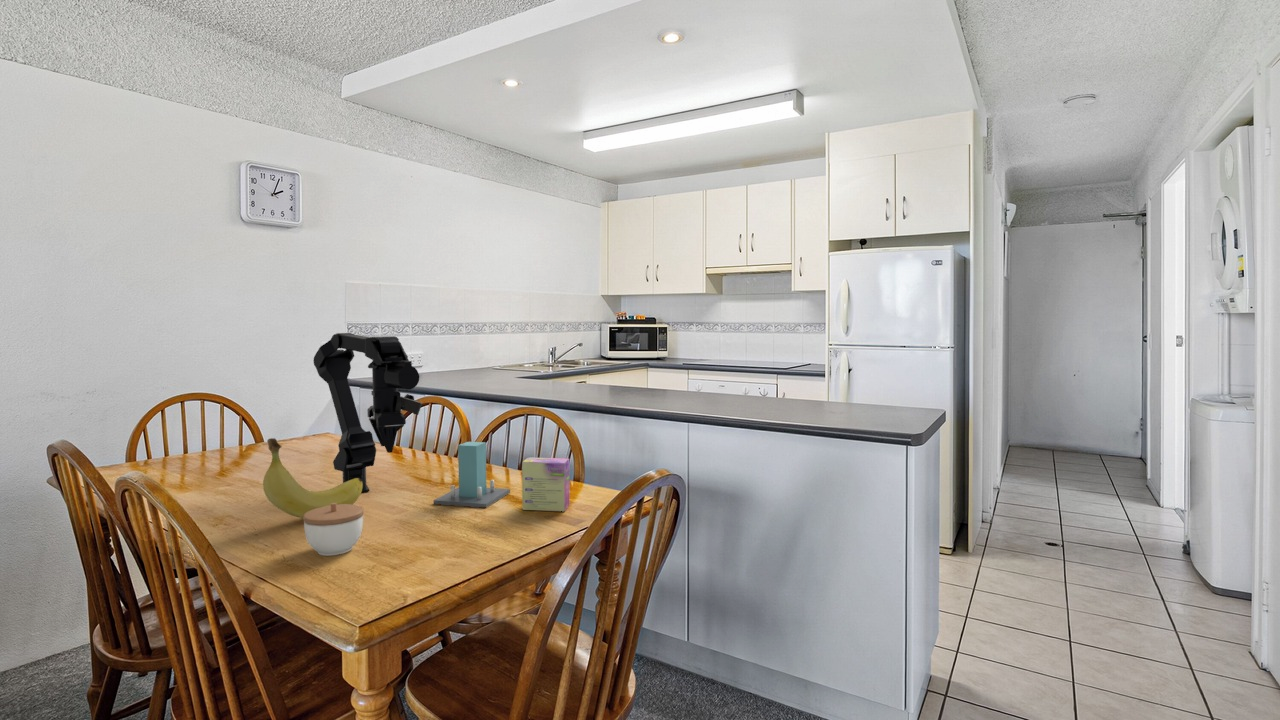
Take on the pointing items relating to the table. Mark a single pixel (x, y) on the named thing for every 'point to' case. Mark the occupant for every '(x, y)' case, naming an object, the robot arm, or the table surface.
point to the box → (545, 484)
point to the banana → (302, 489)
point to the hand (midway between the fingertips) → (386, 449)
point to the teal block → (472, 468)
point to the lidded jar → (333, 528)
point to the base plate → (480, 501)
